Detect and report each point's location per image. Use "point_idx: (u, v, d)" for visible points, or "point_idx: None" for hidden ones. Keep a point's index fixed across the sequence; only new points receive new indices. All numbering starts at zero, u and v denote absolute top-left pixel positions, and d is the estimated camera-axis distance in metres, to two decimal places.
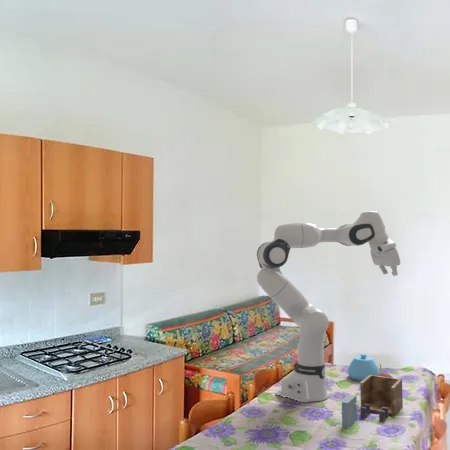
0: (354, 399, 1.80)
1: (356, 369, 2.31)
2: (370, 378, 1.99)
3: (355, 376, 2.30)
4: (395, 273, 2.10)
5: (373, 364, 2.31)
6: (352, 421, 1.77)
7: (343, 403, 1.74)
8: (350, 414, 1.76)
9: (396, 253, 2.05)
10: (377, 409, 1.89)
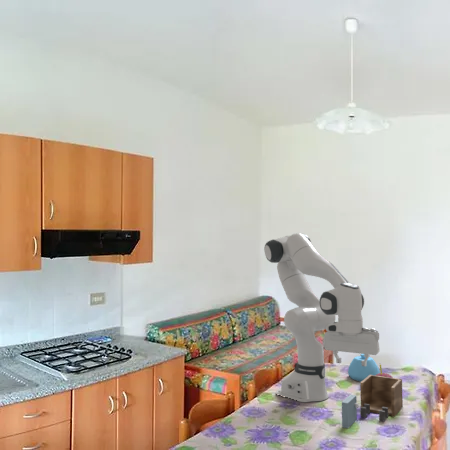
0: (354, 399, 1.80)
1: (356, 369, 2.31)
2: (370, 378, 1.99)
3: (355, 376, 2.30)
4: None
5: (373, 364, 2.31)
6: (352, 421, 1.77)
7: (343, 403, 1.74)
8: (350, 414, 1.76)
9: None
10: (377, 409, 1.89)
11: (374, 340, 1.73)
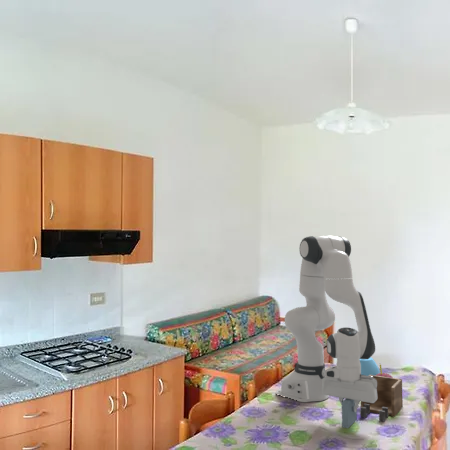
0: None
1: None
2: None
3: None
4: None
5: (373, 364, 2.31)
6: (352, 421, 1.77)
7: (343, 403, 1.74)
8: (350, 414, 1.76)
9: None
10: (377, 409, 1.89)
11: (372, 388, 1.72)
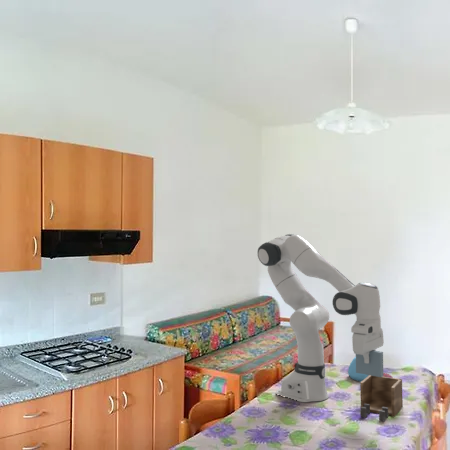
0: None
1: None
2: (370, 378, 1.99)
3: (355, 376, 2.30)
4: (366, 361, 1.82)
5: None
6: None
7: (381, 353, 1.80)
8: None
9: (361, 341, 1.76)
10: (377, 409, 1.89)
11: (382, 332, 1.90)
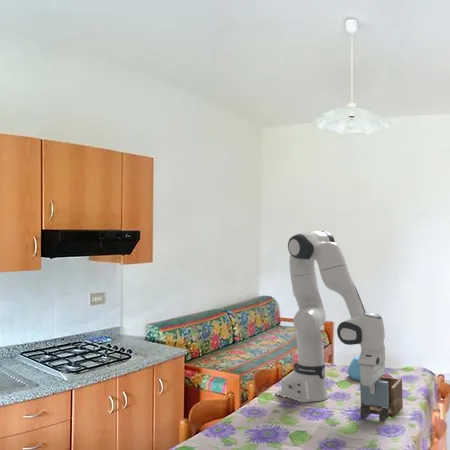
0: None
1: (356, 369, 2.31)
2: None
3: (355, 376, 2.30)
4: (372, 391, 1.82)
5: None
6: None
7: (387, 383, 1.81)
8: None
9: (369, 372, 1.76)
10: (377, 409, 1.89)
11: (384, 361, 1.91)
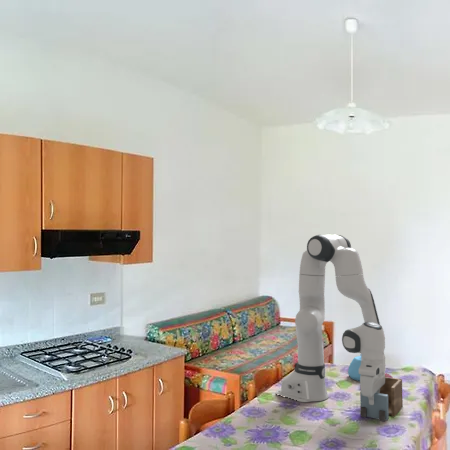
0: None
1: (356, 369, 2.31)
2: None
3: (355, 376, 2.30)
4: (371, 402, 1.81)
5: None
6: None
7: (387, 396, 1.81)
8: None
9: (370, 383, 1.76)
10: None
11: None
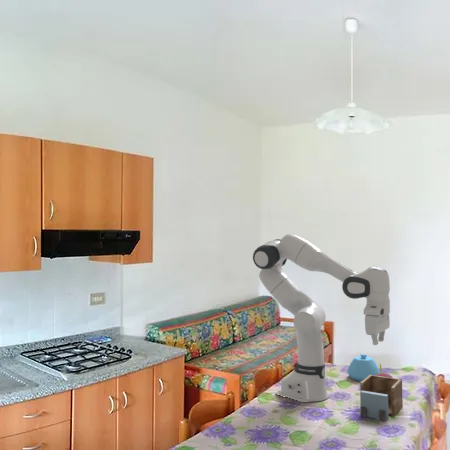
0: None
1: (356, 369, 2.31)
2: (370, 378, 1.99)
3: (355, 376, 2.30)
4: (374, 342, 1.88)
5: (373, 364, 2.31)
6: None
7: (387, 396, 1.81)
8: None
9: (374, 322, 1.83)
10: None
11: None
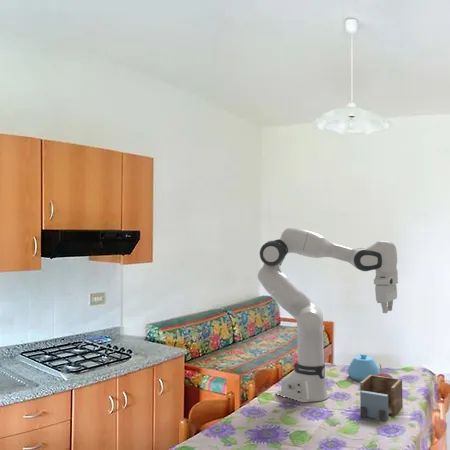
0: None
1: (356, 369, 2.31)
2: (370, 378, 1.99)
3: (355, 376, 2.30)
4: (384, 311, 2.00)
5: (373, 364, 2.31)
6: None
7: (387, 396, 1.81)
8: None
9: (384, 291, 1.95)
10: None
11: (396, 286, 2.11)
